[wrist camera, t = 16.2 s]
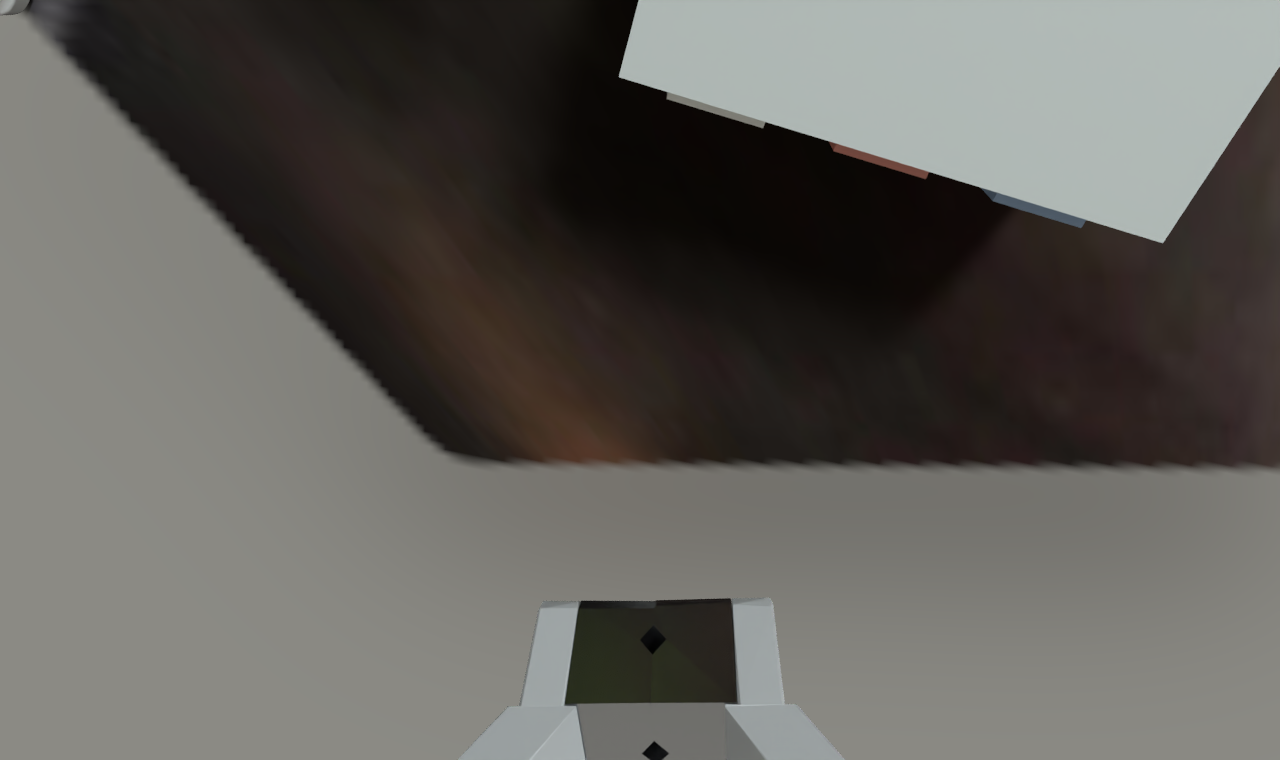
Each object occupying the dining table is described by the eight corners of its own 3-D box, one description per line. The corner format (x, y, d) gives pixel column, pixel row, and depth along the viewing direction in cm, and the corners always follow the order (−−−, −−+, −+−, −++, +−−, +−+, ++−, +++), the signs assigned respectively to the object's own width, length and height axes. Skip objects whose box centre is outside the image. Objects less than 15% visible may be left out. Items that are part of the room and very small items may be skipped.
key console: (634, 25, 40) (618, 76, 31) (700, -225, 35) (705, -254, 26) (1057, 157, 42) (1162, 242, 33) (1178, -58, 37) (1342, -30, 28)
